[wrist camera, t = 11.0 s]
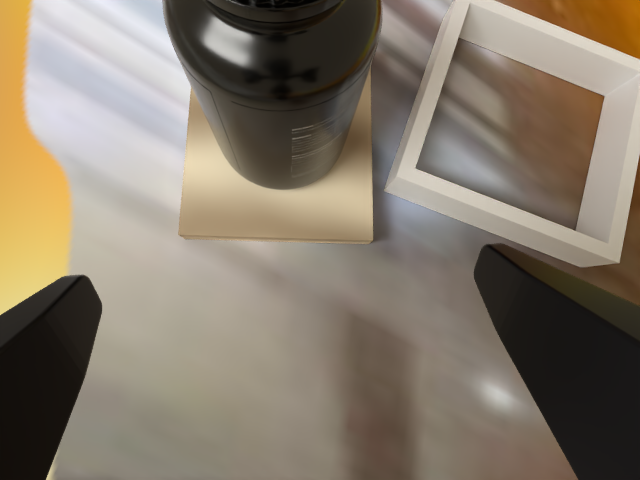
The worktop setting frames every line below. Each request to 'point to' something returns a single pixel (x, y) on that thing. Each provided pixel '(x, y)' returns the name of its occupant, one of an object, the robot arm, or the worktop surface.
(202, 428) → the worktop surface
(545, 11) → the worktop surface
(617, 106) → the frame
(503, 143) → the worktop surface
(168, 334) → the worktop surface
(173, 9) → the supplement bottle
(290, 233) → the birch board
